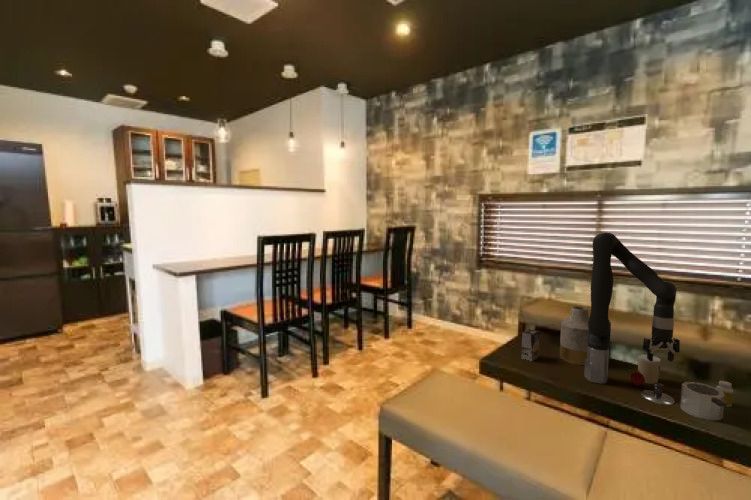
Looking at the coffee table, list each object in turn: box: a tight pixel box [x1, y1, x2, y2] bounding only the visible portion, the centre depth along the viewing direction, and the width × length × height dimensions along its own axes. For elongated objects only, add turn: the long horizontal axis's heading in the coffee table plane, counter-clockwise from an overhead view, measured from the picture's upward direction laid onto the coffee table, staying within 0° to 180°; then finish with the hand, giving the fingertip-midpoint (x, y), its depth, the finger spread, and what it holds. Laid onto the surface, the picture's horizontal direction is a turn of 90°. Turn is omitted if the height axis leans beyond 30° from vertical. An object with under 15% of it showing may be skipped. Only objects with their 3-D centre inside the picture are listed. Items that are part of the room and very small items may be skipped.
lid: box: [640, 382, 676, 406], centre depth 162 cm, size 12×12×7 cm
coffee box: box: [520, 328, 540, 362], centre depth 207 cm, size 9×6×16 cm
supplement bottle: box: [715, 380, 734, 408], centre depth 156 cm, size 5×5×10 cm
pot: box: [679, 380, 727, 422], centre depth 150 cm, size 19×13×10 cm
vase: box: [559, 305, 590, 367], centre depth 204 cm, size 18×18×30 cm
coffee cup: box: [637, 353, 662, 385], centre depth 178 cm, size 9×9×12 cm
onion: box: [629, 369, 645, 387], centre depth 173 cm, size 6×6×8 cm
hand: (660, 360), depth 160 cm, fingers open, 8 cm apart
